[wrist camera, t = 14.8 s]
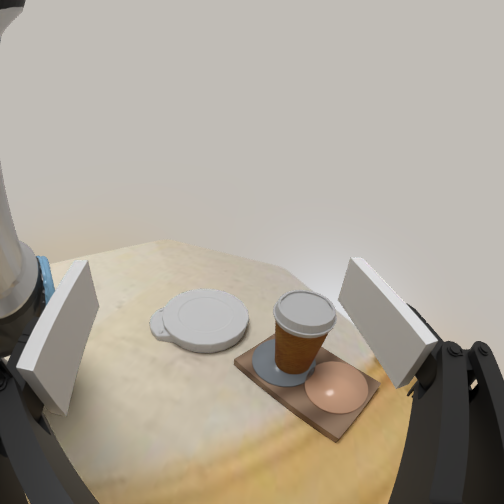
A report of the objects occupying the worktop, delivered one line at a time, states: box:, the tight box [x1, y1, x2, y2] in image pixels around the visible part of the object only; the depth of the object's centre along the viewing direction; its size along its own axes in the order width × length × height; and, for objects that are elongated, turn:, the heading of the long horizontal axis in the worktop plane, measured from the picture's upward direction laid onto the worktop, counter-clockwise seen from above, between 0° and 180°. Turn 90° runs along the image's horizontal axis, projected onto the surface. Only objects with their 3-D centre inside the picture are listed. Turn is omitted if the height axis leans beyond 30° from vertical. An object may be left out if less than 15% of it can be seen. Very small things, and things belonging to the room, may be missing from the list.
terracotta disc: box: [304, 361, 368, 414], centre depth 39 cm, size 11×11×1 cm
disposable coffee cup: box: [273, 290, 337, 374], centre depth 41 cm, size 10×10×12 cm
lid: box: [149, 289, 249, 353], centre depth 53 cm, size 17×20×3 cm
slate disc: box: [252, 339, 316, 387], centre depth 44 cm, size 11×11×1 cm
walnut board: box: [234, 334, 381, 443], centre depth 42 cm, size 22×14×2 cm, turn 44°
